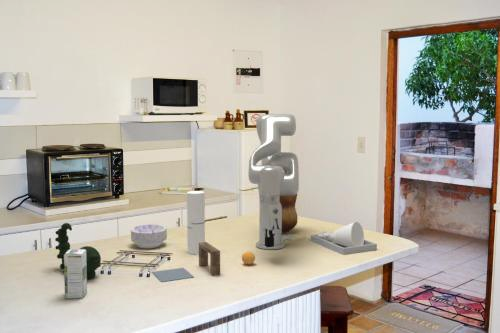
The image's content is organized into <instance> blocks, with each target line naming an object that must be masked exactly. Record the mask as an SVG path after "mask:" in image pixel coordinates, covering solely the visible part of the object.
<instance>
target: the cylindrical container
mask: <svg viewBox="0 0 500 333" xmlns="http://www.w3.org/2000/svg"><path fill="white" fill-rule="evenodd" d="M205 199H206V198H205V191H202V190H190V191H187V192H186V207H187V208H186V217H187V218H186V221H187V223H186V224H187V225H186V226H187V230H186V231H187V233H186V234H187V235H186V236H187V253H188V254H190V255H199V243H201V242H206V231H205V228H206V226H205V224H206V223H205V222H206V216H205V215H206V214H205V211H206V210H205V208H206V207H205Z"/></svg>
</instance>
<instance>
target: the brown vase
mask: <svg viewBox="0 0 500 333" xmlns="http://www.w3.org/2000/svg"><path fill="white" fill-rule="evenodd" d="M297 197H298V193H297V194H296V195H293V196H279V202H280V203H281V206H282V233H287V232H289V231H291V230H293V229H295V227H296V226H297V225H298V213H297V208H296V203H297V199H298V198H297Z"/></svg>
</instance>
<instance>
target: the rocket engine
mask: <svg viewBox="0 0 500 333" xmlns="http://www.w3.org/2000/svg"><path fill="white" fill-rule="evenodd" d="M328 233H329V234H328ZM331 233H332V234H331ZM320 234H321V235H318V237H324V240H326V241H328V242H331V243H334V244H336V245H338V246H342V247H343V246H344V247H345V248H346V247H353V246H361V245H363V244H364V240H365V233H364V228H363V226H362V225H361V223H359V221H354V222H352V223H349V224H346V225H344V226H342V227H340V228H338V229H336V230H335V231H333V232H330V231H327V230H326V229H324V230H322V233H320Z"/></svg>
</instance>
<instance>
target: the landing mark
mask: <svg viewBox="0 0 500 333" xmlns="http://www.w3.org/2000/svg"><path fill="white" fill-rule="evenodd" d="M151 274H153V275H154V277H155V278H157V280H158V281H160V283H166V282H172V281H179V280H186V279H192V278H193V279H194V278H195V276H194V275H193V274H192V273H190V272H189V271H188V269H186V268H184V267H179V268H172V269H170V268H169V269H164V270H156V271H151Z"/></svg>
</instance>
